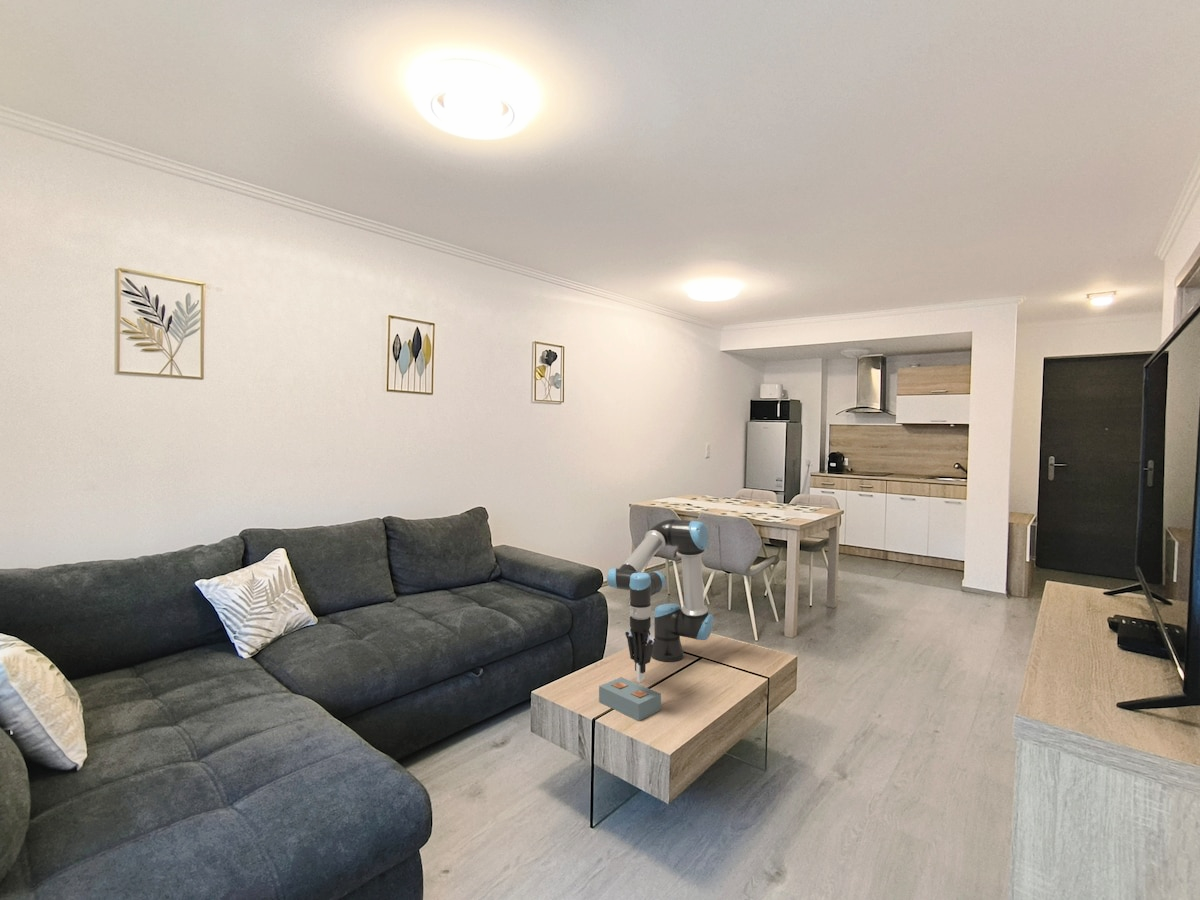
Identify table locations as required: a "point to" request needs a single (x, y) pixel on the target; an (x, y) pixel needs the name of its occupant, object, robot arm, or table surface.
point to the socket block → (630, 699)
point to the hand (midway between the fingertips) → (640, 680)
